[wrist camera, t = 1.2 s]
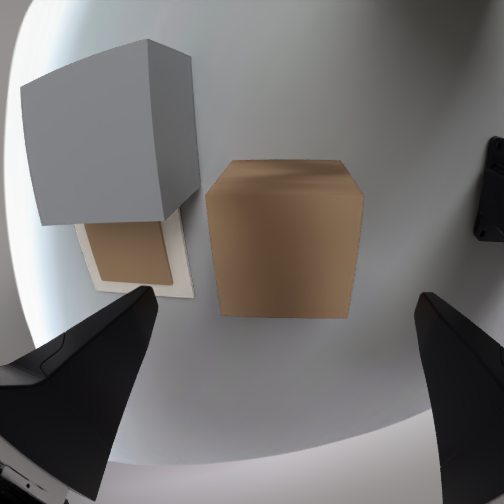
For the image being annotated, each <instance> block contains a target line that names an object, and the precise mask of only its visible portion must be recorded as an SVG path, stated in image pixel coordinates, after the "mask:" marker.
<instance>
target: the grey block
mask: <svg viewBox="0 0 504 504" xmlns="http://www.w3.org/2000/svg"><path fill="white" fill-rule="evenodd" d="M20 90H21V107H22V119H23V129H24V138H25V145H26V152H27V158H28V164H29V170H30V176H31V181H32V186H33V190H34V195H35V199H36V204H37V208H38V212H39V216H40V220H41V224H42V226H47V225H66V224H88V223H113V222H146V221H165V220H166V219H167V218H168V217H169V216H170V215H171V214H172V213H173V212H174V211H175V210H176V209H178V208H179V207H180V206H181V205H182V204H183V203H184V202H185V201H186V200H187V199H188V198H189V197H190V196H191V195H192V194H193V193H194V192H195V191H196V190H197V189H199V188H200V187H201V186H200V176H199V165H198V154H197V142H196V129H195V116H194V102H193V86H192V68H191V56H189V55H186V54H184V53H182V52H179V51H177V50H175V49H172V48H170V47H167V46H165V45H162V44H160V43H157V42H155V41H152V40H149V39H145V40H141V41H137V42H133V43H130V44H126V45H123V46H120V47H116V48H113V49H110V50H107V51H104V52H101V53H98V54H95V55H92V56H90V57H87V58H84V59H82V60H79V61H76V62H74V63H71V64H69V65H67V66H64V67H62V68H59V69H57V70H55V71H53V72H50V73H48V74H46V75H44V76H42V77H40V78H38V79H36V80H34V81H32V82H30V83H28V84H26V85H24V86H22V87H20Z"/></svg>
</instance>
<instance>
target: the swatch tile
mask: <svg viewBox="0 0 504 504" xmlns="http://www.w3.org/2000/svg"><path fill="white" fill-rule="evenodd" d="M74 226H75V229H76V233H77V236H78V239H79V243H80V246H81V249H82V252H83V255H84V258H85V261H86V264H87V267H88V269H89V272H90V275H91V278H92V281H93V283H94V286H95V288H96V291H105V292H116V293H129V292H131V291H132V290H134V289H136V288H137V287H139V286H141V285H144V286H151V287H152V288H153V290H154V293H155V296H166V297H182V298H194V297H195V292H194V287H193V282H192V277H191V272H190V266H189V261H188V255H187V250H186V244H185V238H184V232H183V226H182V220H181V214H180V208H178V209H176V210H175V211H174V212H173V213H172V214H171V215H170V216H169V217H168V218H167V219H166V220H165V221H146V222H113V223H88V224H74Z"/></svg>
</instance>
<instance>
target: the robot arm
mask: <svg viewBox="0 0 504 504" xmlns="http://www.w3.org/2000/svg"><path fill="white" fill-rule="evenodd" d="M497 142H498V147H497V148H496V144H497ZM481 231H482V233H481V234H480V232H481ZM474 236H475V237H476V238H477V239H478V240H479V241H492V242H504V138H501V137H497V136H493V137H492V138H491V139H490V142H489V151H488V159H487V166H486V172H485V178H484V184H483V190H482V195H481V200H480V205H479V210H478V215H477V219H476V223H475V227H474ZM157 313H158V303H157V300H156V296H155V293H154V290H153V288H152V287H151V286H144V285H141V286H139V287H137V288H136V289H134V290H132V291H131V292H129V293H127V294H126V295H124V296H122V297H121V298H119V299H117V300H116V301H114V302H112V303H111V304H109V305H108V306H106V307H104V308H103V309H101V310H99V311H98V312H96V313H94V314H93V315H91V316H90V317H88V318H86V319H85V320H83V321H82V322H80V323H78V324H77V325H75V326H74V327H72V328H70V329H69V330H67V331H66V333H65V332H64V333H62V334H61V335H59V336H58V337H56V338H54V339H53V340H51V341H49V342H48V343H46V344H44V345H43V346H41V347H39V348H37V349H35V350H33V351H32V352H30V353H28V354H26V355H25V356H23V357H21V358H19V359H17V360H15V361H14V362H11V363H9V364H7V365H4V366H0V504H69V503H68V500H67V499H66V496H67V494H68V491H69V490H71V491H73V492H75V493H77V494H79V495H81V496H84V497H86V498H88V499H90V500H92V501H95V500H96V498H97V495H98V491H99V488H100V484H101V480H102V478H103V474H104V471H105V468H106V464H107V461H108V458H109V455H110V452H111V448H112V445H113V442H114V439H115V436H116V433H117V430H118V427H119V424H120V421H121V419H122V416H123V413H124V410H125V407H126V404H127V402H128V399H129V396H130V393H131V390H132V388H133V385H134V382H135V380H136V377H137V374H138V372H139V369H140V366H141V364H142V361H143V359H144V356H145V354H146V351H147V348H148V345H149V342H150V338H151V334H152V331H153V327H154V323H155V320H156V316H157ZM414 319H415V325H416V331H417V338H418V344H419V351H420V357H421V361H422V366H423V370H424V374H425V378H426V383H427V388H428V392H429V397H430V402H431V407H432V413H433V419H434V424H435V431H436V437H437V444H438V452H439V460H440V466H441V467H440V471H441V482H442V495H443V496H442V497H443V504H504V347H502V346H501V345H500V344H499V343H498V342H496V341H495V340H494V339H493V338H491V337H490V336H489V335H488V334H486V333H485V332H484V331H483V330H482V329H480V328H479V327H478V326H476V325H475V324H474V323H473V322H471V321H470V320H469V319H468V318H466V317H465V316H464V315H462V314H461V313H460V312H458V311H457V310H456V309H455V308H453V307H452V306H451V305H449V304H448V303H447V302H445V301H444V300H443V299H441V298H440V297H439V296H437V295H436V294H434V293H433V292H423V293H421V294H420V297H419V300H418V303H417V306H416V309H415V313H414Z"/></svg>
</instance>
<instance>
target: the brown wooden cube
mask: <svg viewBox="0 0 504 504" xmlns="http://www.w3.org/2000/svg"><path fill="white" fill-rule="evenodd" d="M205 199H206V207H207V215H208V223H209V231H210V239H211V247H212V254H213V262H214V269H215V276H216V283H217V290H218V297H219V303H220V310H221V315H223V316H243V317H269V318H347V317H348V311H349V306H350V300H351V294H352V288H353V282H354V276H355V269H356V262H357V255H358V247H359V239H360V231H361V222H362V212H363V202H364V195H363V194H362V192H361V191H360V189H359V188H358V186H357V184H356V183H355V181H354V180H353V178H352V177H351V175H350V174H349V172H348V171H347V169H346V168H345V166H344V165H343V164H342V162H341V161H338V160H235V161H232V162H231V163H230V164H229V166H228V167H227V168H226V169H225V171H224V172H223V173H222V174H221V176H220V177H219V178H218V180H217V181H216V182H215V183H214V185H213V186H212V187H211V188H210V190H209V191H208V192H207V194H206V195H205Z"/></svg>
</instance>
